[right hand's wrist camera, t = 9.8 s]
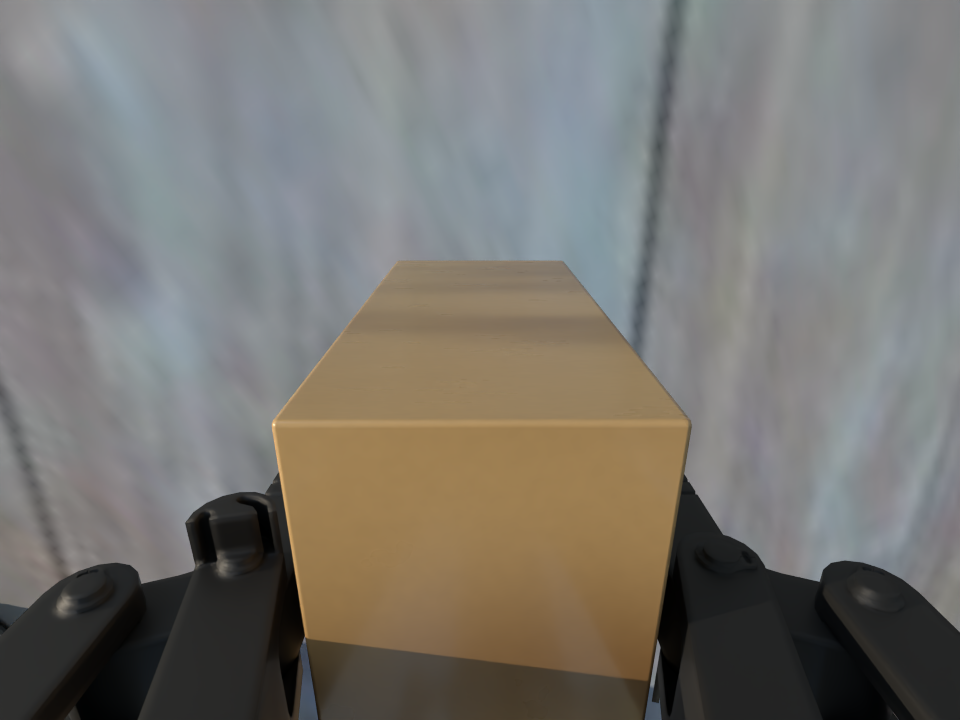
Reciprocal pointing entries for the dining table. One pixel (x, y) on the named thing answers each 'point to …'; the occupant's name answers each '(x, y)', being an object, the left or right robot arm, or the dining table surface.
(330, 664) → the bar
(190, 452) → the dining table surface
